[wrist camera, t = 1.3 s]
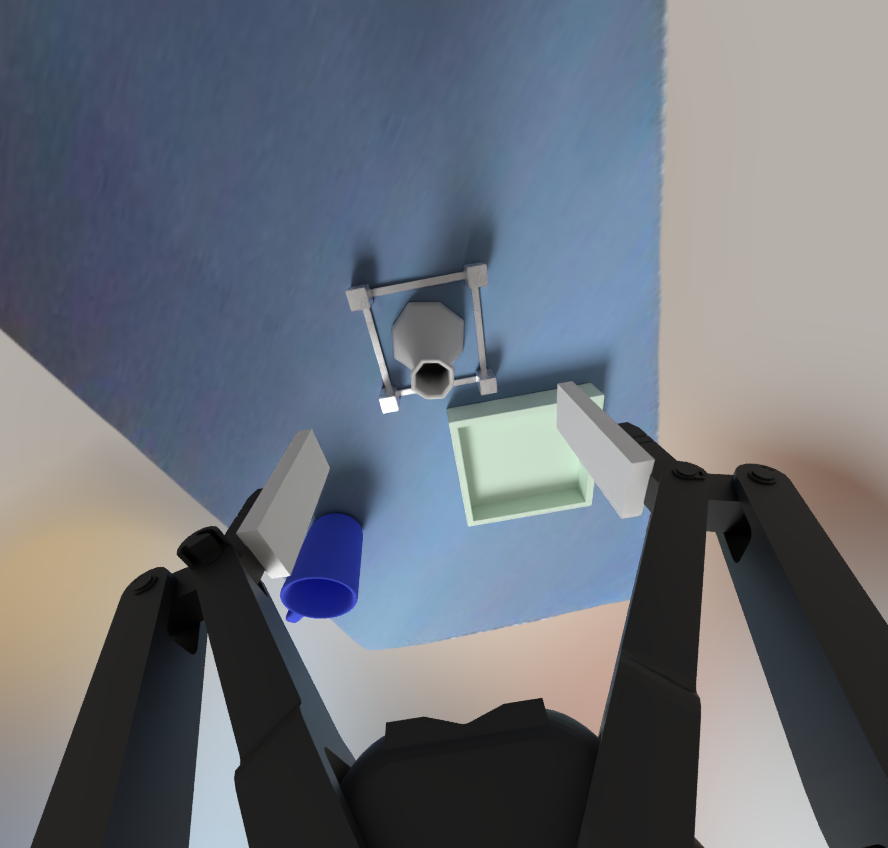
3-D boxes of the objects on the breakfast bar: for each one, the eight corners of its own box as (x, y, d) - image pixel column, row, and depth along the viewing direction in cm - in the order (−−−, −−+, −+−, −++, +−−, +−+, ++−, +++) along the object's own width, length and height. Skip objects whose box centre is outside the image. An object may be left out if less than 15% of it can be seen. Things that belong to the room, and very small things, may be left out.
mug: (283, 547, 44) (252, 622, 36) (325, 496, 40) (301, 567, 32) (336, 567, 48) (318, 640, 39) (380, 521, 43) (371, 592, 35)
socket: (350, 286, 28) (345, 291, 25) (481, 261, 27) (486, 263, 25) (385, 401, 34) (383, 413, 32) (492, 382, 33) (497, 392, 31)
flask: (401, 288, 28) (394, 312, 19) (476, 313, 30) (499, 346, 21) (383, 362, 31) (370, 410, 23) (451, 381, 33) (463, 433, 25)
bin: (446, 408, 35) (448, 422, 32) (590, 382, 34) (604, 394, 32) (465, 509, 43) (468, 526, 40) (580, 488, 43) (591, 505, 40)
